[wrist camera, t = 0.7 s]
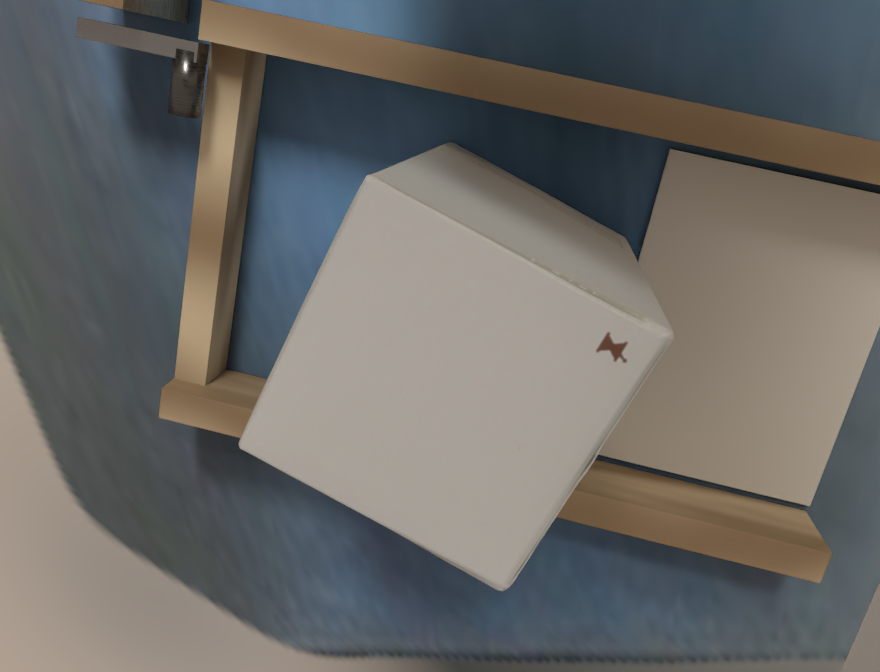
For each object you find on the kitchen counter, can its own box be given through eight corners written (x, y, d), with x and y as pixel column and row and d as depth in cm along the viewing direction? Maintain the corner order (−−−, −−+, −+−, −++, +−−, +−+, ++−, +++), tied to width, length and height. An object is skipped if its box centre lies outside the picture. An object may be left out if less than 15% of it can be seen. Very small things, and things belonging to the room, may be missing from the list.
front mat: (670, 148, 27) (670, 149, 27) (924, 203, 26) (927, 204, 26) (584, 449, 30) (584, 451, 30) (808, 503, 30) (809, 506, 30)
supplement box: (448, 134, 28) (368, 156, 16) (632, 238, 28) (692, 338, 16) (355, 311, 30) (225, 448, 18) (526, 406, 30) (509, 606, 18)
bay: (238, 9, 28) (202, -2, 25) (942, 158, 26) (990, 164, 23) (193, 389, 32) (158, 417, 29) (794, 538, 30) (820, 583, 27)
